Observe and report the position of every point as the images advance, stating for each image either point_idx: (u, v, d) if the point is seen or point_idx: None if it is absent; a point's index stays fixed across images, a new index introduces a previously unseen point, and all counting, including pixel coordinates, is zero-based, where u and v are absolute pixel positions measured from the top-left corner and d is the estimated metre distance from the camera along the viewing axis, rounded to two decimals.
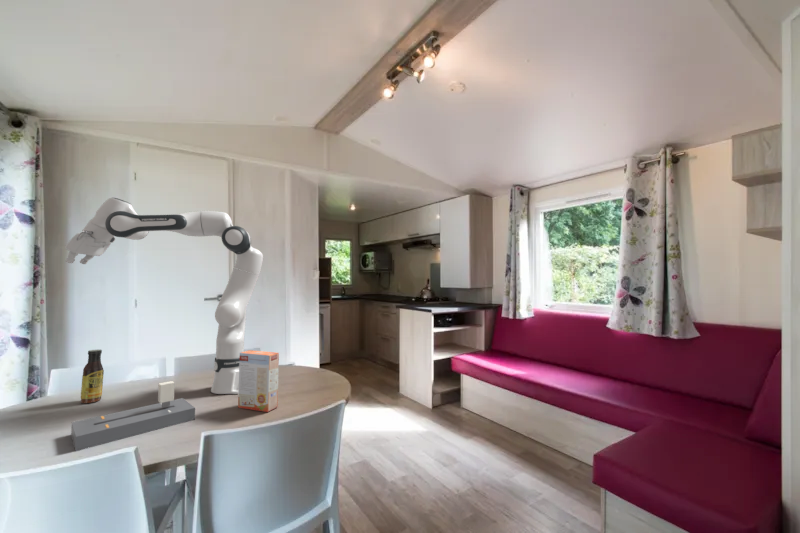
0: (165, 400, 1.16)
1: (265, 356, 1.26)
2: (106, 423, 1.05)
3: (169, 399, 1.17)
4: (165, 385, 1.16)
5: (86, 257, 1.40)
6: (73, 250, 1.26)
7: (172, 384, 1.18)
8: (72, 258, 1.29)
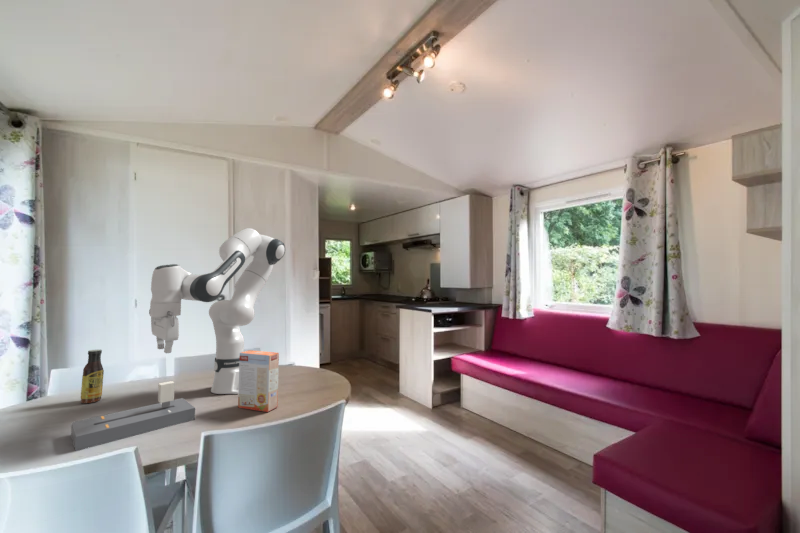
0: (165, 400, 1.16)
1: (265, 356, 1.26)
2: (106, 423, 1.05)
3: (169, 399, 1.17)
4: (165, 385, 1.16)
5: (159, 341, 1.21)
6: (176, 337, 1.12)
7: (172, 384, 1.18)
8: (171, 346, 1.15)
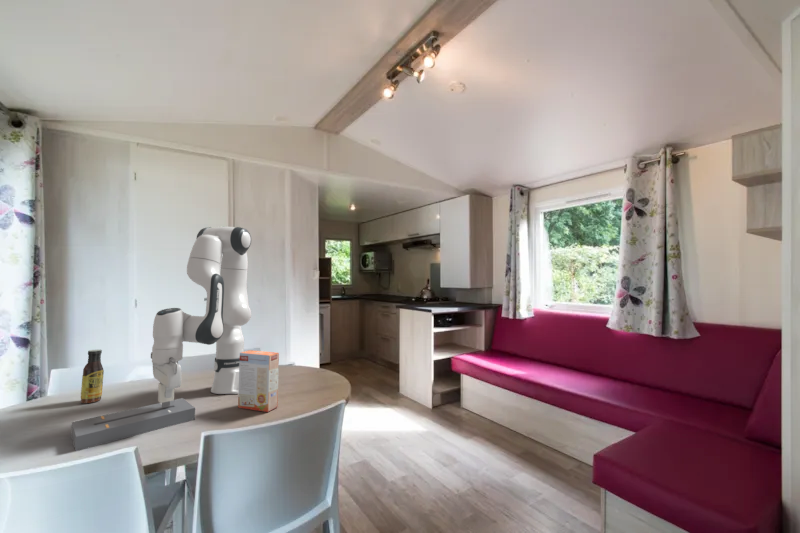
0: (165, 400, 1.16)
1: (265, 356, 1.26)
2: (106, 423, 1.05)
3: (169, 399, 1.17)
4: None
5: None
6: (179, 385, 1.12)
7: None
8: (171, 391, 1.16)
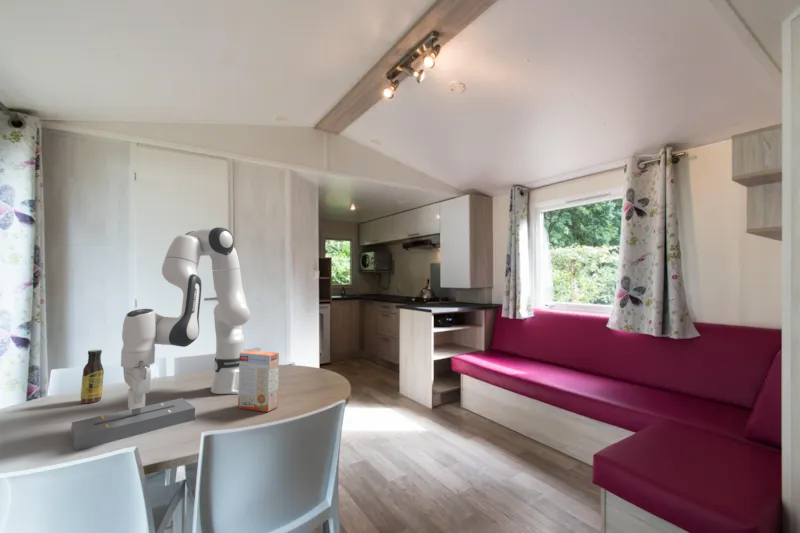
0: (135, 406, 1.10)
1: (265, 356, 1.26)
2: (106, 423, 1.05)
3: (140, 405, 1.11)
4: None
5: None
6: (149, 390, 1.06)
7: None
8: (141, 397, 1.10)
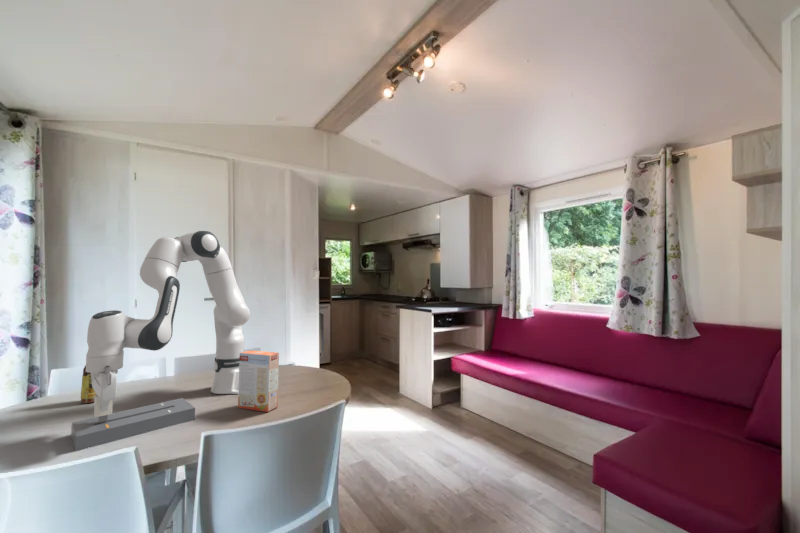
0: (101, 414, 1.04)
1: (265, 356, 1.26)
2: (106, 423, 1.05)
3: (106, 413, 1.05)
4: None
5: None
6: (114, 397, 1.00)
7: None
8: (107, 404, 1.04)
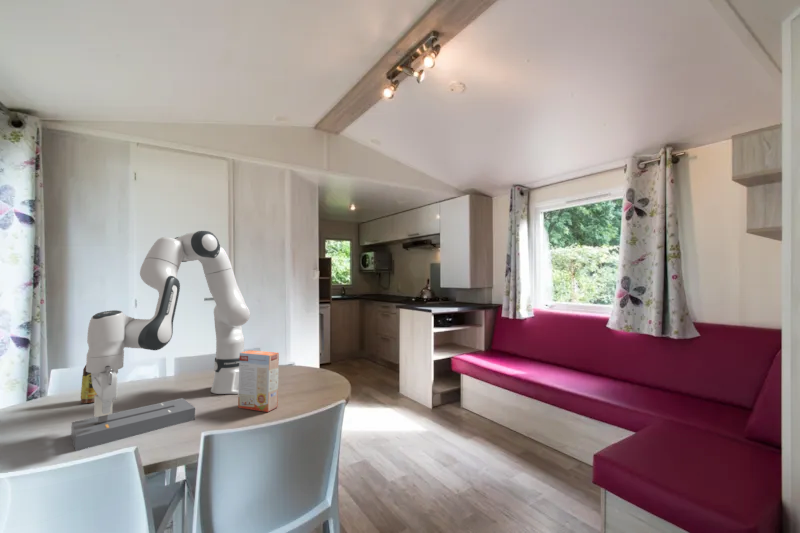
0: (101, 414, 1.04)
1: (265, 356, 1.26)
2: (106, 423, 1.05)
3: (106, 413, 1.05)
4: None
5: None
6: (114, 397, 1.00)
7: None
8: (109, 406, 1.02)
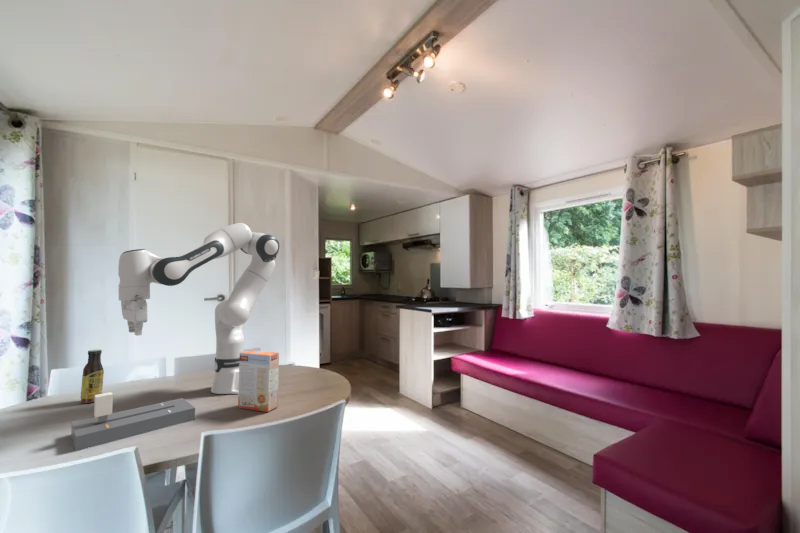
0: (101, 414, 1.04)
1: (265, 356, 1.26)
2: (106, 423, 1.05)
3: (106, 413, 1.05)
4: (101, 397, 1.04)
5: (130, 324, 1.24)
6: (145, 319, 1.15)
7: (110, 396, 1.06)
8: (141, 329, 1.18)
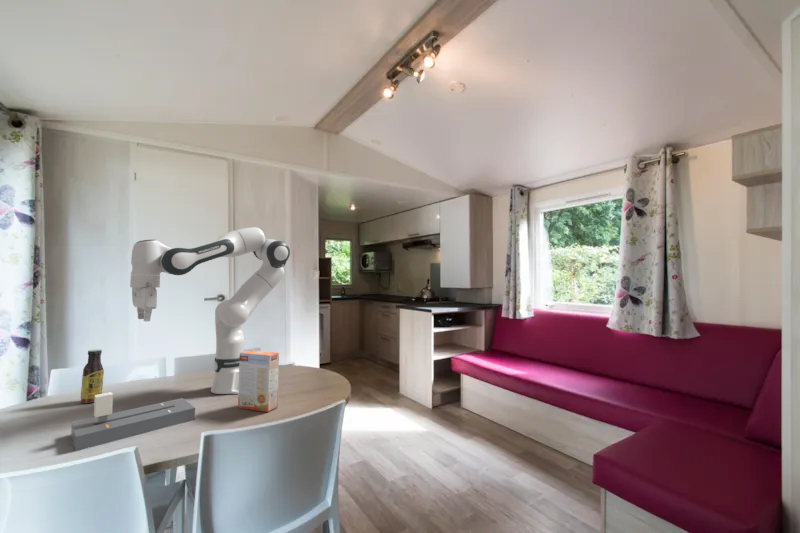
0: (101, 414, 1.04)
1: (265, 356, 1.26)
2: (106, 423, 1.05)
3: (106, 413, 1.05)
4: (101, 397, 1.04)
5: (139, 311, 1.30)
6: (155, 306, 1.21)
7: (110, 396, 1.06)
8: (149, 315, 1.23)
